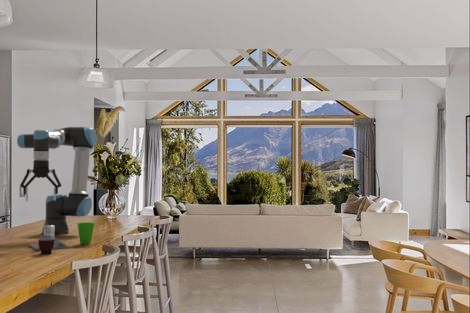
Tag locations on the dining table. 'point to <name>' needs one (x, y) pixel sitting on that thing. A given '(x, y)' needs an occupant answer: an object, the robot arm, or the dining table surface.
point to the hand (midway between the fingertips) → (40, 200)
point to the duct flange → (56, 246)
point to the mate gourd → (46, 243)
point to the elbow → (50, 230)
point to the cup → (85, 232)
